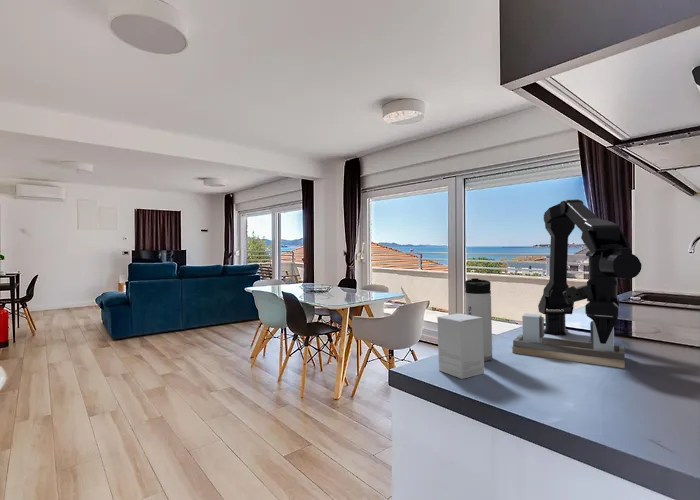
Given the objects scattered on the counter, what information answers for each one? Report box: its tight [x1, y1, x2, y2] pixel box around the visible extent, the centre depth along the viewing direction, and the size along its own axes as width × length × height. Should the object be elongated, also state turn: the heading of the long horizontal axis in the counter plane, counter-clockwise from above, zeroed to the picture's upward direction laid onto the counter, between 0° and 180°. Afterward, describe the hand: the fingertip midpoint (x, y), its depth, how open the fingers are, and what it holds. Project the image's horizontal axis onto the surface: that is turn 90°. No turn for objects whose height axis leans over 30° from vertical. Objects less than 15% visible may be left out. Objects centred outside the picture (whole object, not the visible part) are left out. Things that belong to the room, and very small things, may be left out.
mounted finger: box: [521, 313, 545, 343], centre depth 101 cm, size 4×5×8 cm
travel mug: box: [464, 277, 493, 362], centre depth 96 cm, size 6×7×20 cm
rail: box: [511, 334, 626, 369], centre depth 97 cm, size 10×24×3 cm, turn 54°
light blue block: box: [589, 320, 615, 352], centre depth 92 cm, size 5×4×8 cm
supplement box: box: [437, 313, 485, 380], centre depth 85 cm, size 7×7×13 cm
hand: (603, 339), depth 92 cm, fingers open, 9 cm apart
